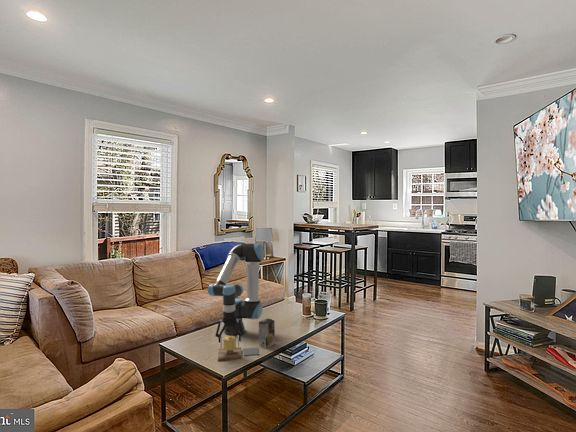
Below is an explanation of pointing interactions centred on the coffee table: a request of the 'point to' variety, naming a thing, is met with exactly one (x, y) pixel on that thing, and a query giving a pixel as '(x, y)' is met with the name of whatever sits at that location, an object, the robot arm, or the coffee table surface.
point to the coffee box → (266, 333)
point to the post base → (229, 354)
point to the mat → (251, 351)
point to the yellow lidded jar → (229, 343)
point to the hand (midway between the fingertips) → (229, 346)
